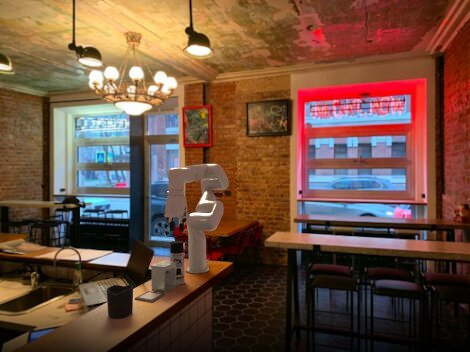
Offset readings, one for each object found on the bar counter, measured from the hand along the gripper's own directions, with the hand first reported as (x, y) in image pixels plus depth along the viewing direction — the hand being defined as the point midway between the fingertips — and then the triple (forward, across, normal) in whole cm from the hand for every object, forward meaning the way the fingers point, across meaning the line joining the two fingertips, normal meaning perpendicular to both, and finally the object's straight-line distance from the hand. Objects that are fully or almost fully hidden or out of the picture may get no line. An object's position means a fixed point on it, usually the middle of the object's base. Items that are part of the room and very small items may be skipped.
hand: (176, 230), depth 161 cm
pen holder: (+26, +1, -39) cm, 47 cm away
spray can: (+26, 0, 0) cm, 26 cm away
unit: (+25, 0, -10) cm, 27 cm away
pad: (+25, 0, -20) cm, 33 cm away
